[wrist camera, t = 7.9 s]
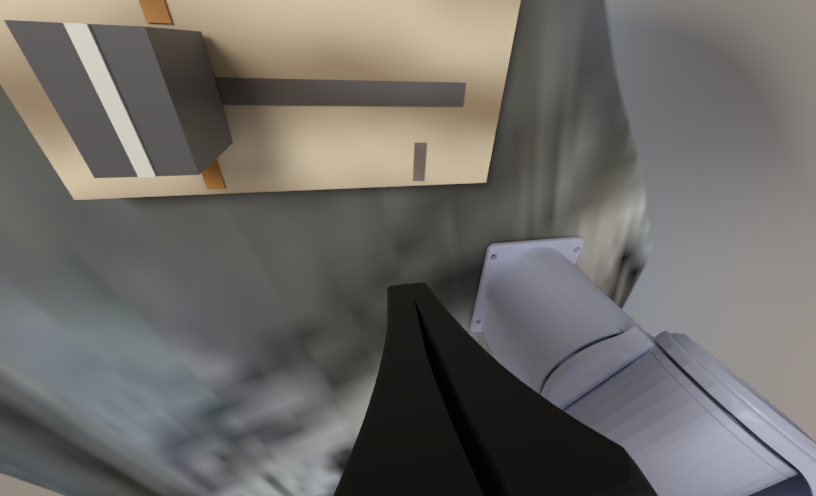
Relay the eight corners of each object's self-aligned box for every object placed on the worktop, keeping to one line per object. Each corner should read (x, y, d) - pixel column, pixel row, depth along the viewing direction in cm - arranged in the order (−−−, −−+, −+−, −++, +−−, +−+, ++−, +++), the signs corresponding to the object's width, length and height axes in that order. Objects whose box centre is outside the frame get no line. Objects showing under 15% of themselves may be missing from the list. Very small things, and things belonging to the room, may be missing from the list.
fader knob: (232, 142, 13) (198, 175, 10) (156, 143, 13) (93, 179, 9) (201, 31, 11) (143, 26, 8) (107, 27, 10) (1, 19, 7)
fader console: (473, 170, 19) (486, 183, 17) (102, 183, 15) (72, 200, 14) (504, -21, 14) (527, -30, 12) (-40, -69, 10) (-115, -91, 8)
